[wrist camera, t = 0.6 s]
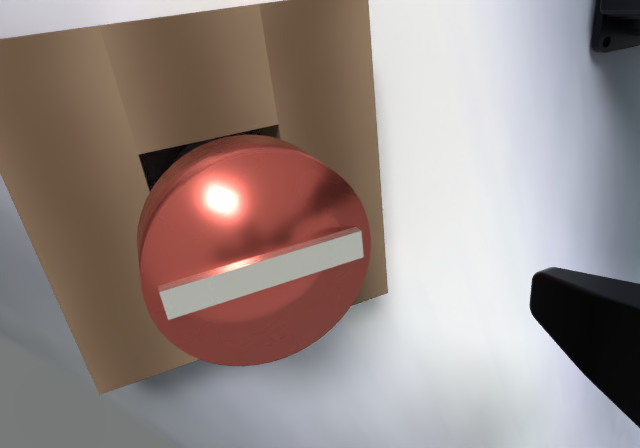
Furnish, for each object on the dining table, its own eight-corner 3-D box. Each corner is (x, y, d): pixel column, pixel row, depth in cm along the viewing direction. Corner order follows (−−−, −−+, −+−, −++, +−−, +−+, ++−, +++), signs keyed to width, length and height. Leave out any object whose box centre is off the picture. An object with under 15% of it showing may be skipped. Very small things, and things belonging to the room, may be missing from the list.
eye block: (331, -6, 18) (367, -11, 15) (357, 262, 23) (388, 292, 21) (-26, 42, 14) (-57, 47, 12) (101, 346, 20) (99, 394, 17)
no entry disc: (269, 88, 18) (367, 130, 11) (291, 224, 21) (382, 328, 14) (108, 119, 17) (104, 192, 9) (154, 264, 19) (178, 405, 12)
